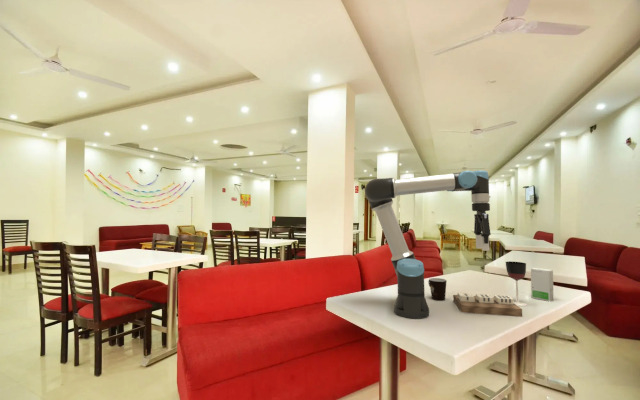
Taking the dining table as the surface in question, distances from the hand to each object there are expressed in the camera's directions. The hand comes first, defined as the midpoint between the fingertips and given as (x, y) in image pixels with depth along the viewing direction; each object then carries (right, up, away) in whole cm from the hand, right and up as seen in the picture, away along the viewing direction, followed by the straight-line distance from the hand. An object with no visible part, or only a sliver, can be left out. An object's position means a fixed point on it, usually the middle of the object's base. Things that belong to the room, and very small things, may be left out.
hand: (482, 249), depth 136 cm
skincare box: (+39, -28, +13) cm, 50 cm away
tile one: (-8, -24, 0) cm, 26 cm away
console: (0, -28, -2) cm, 28 cm away
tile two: (0, -24, -2) cm, 24 cm away
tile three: (+8, -24, -4) cm, 26 cm away
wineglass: (+21, -28, +5) cm, 35 cm away
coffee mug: (-15, -29, +16) cm, 36 cm away
